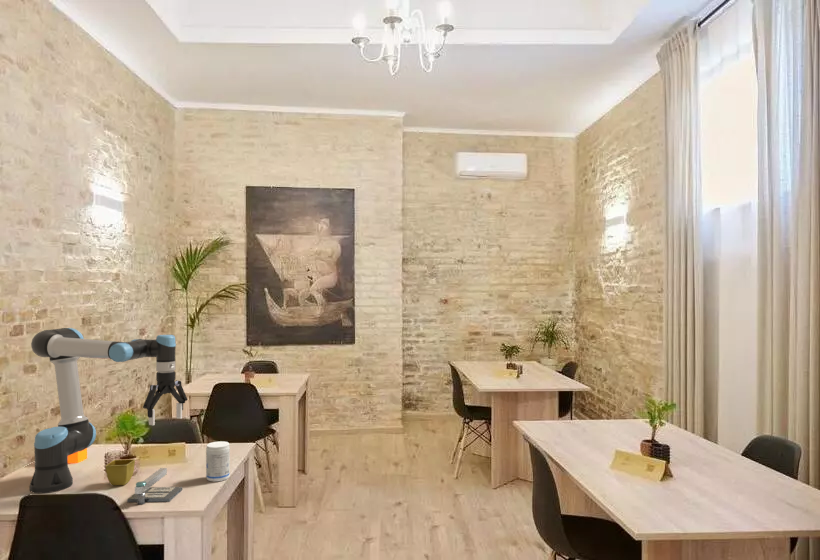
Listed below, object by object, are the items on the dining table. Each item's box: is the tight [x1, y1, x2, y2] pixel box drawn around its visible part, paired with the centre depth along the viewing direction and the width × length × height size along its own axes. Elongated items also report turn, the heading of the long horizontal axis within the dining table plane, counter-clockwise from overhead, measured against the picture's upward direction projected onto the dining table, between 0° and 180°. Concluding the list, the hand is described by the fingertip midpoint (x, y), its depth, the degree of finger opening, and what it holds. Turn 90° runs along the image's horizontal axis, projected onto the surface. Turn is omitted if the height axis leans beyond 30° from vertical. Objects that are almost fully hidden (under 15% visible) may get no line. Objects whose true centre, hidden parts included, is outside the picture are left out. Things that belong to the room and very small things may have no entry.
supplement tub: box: [205, 440, 231, 483], centre depth 251 cm, size 10×10×15 cm
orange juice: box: [68, 448, 88, 464], centre depth 279 cm, size 8×9×20 cm
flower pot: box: [105, 458, 136, 487], centre depth 245 cm, size 9×9×9 cm
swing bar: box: [134, 467, 168, 494], centre depth 232 cm, size 23×4×3 cm, turn 0°
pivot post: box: [136, 492, 146, 506], centre depth 222 cm, size 3×3×4 cm
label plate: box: [126, 486, 183, 503], centre depth 230 cm, size 16×13×2 cm
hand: (165, 421), depth 249 cm, fingers open, 13 cm apart
